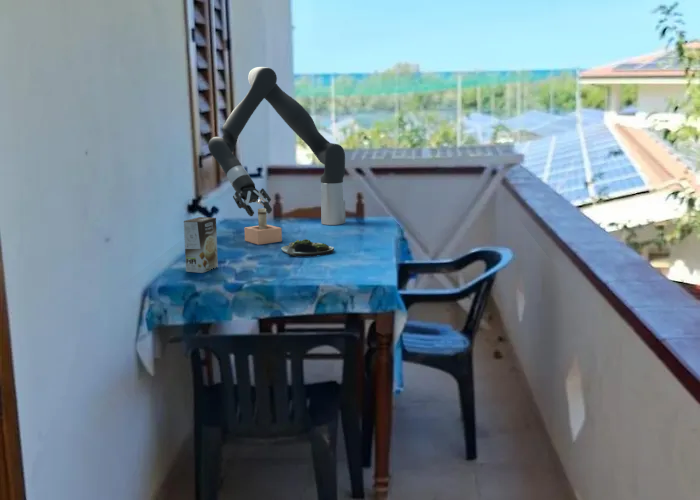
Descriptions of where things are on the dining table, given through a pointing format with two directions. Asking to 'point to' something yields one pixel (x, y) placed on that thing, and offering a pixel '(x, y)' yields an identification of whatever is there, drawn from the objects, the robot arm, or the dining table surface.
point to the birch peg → (262, 218)
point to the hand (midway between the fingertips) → (261, 213)
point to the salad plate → (307, 248)
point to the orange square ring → (263, 234)
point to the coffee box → (200, 244)
